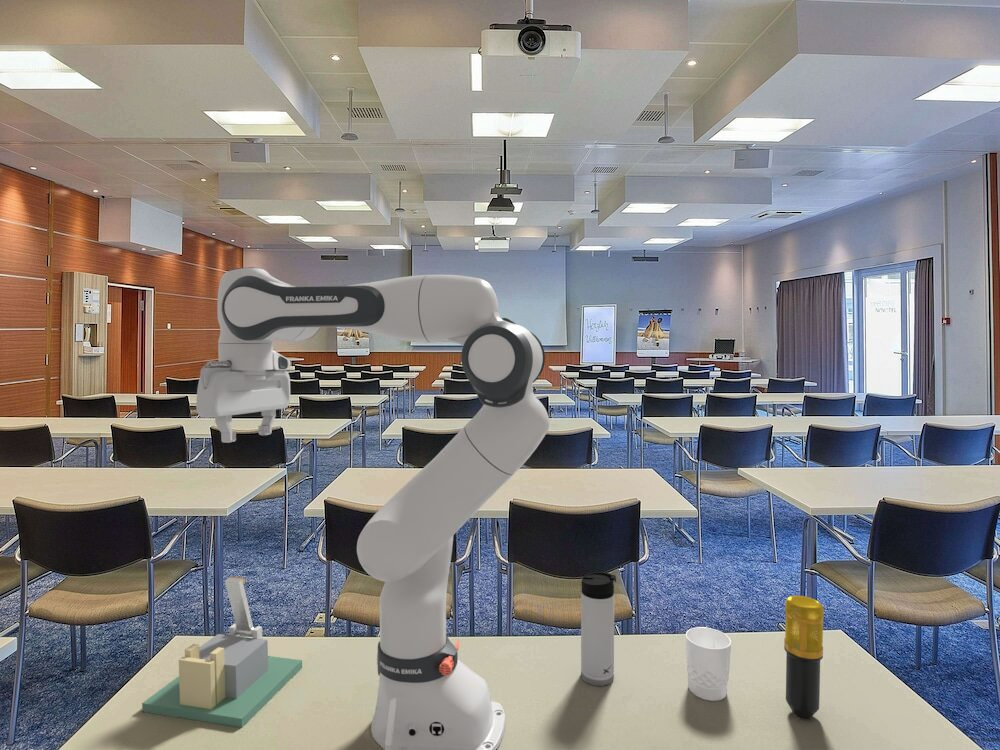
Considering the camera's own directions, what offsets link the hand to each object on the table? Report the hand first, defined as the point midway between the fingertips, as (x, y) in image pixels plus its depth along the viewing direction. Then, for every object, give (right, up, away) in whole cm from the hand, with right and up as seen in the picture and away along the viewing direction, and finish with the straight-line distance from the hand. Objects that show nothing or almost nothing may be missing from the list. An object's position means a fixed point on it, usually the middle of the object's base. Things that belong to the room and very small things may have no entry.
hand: (247, 438), depth 99 cm
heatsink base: (-6, -48, +5) cm, 48 cm away
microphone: (+101, -48, -2) cm, 112 cm away
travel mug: (+64, -47, +8) cm, 80 cm away
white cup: (+83, -48, +4) cm, 96 cm away
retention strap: (-6, -34, +8) cm, 36 cm away
